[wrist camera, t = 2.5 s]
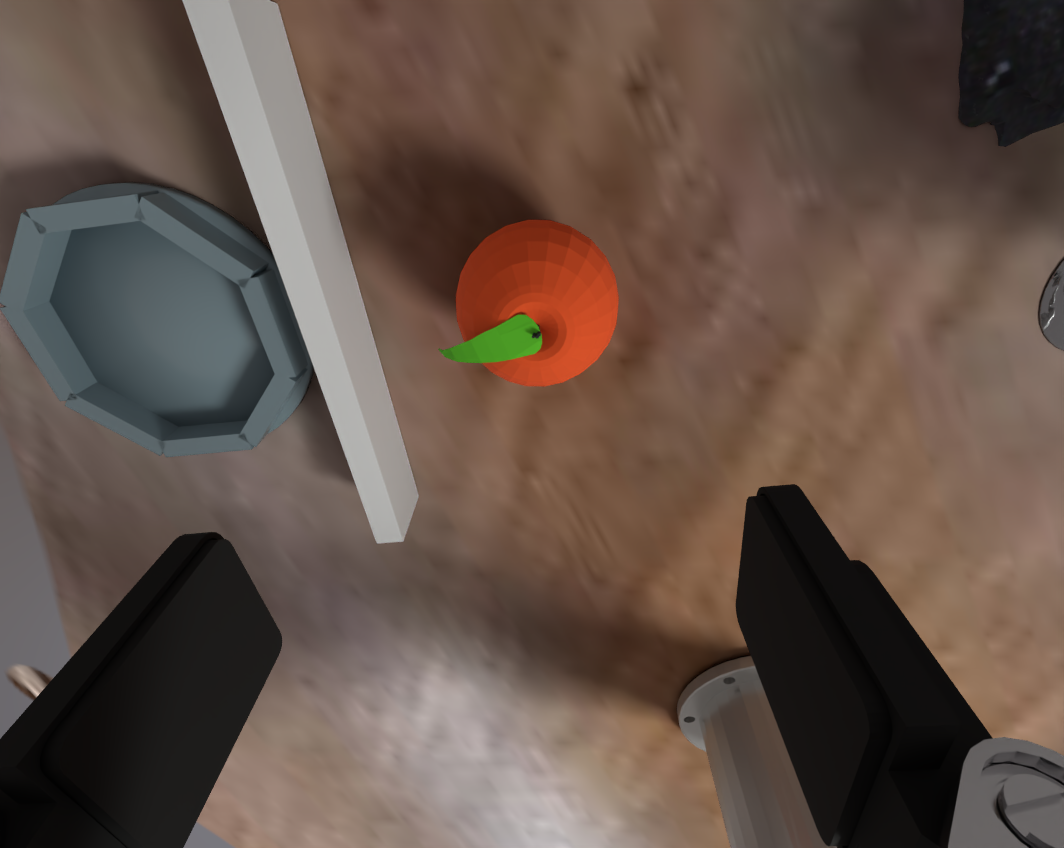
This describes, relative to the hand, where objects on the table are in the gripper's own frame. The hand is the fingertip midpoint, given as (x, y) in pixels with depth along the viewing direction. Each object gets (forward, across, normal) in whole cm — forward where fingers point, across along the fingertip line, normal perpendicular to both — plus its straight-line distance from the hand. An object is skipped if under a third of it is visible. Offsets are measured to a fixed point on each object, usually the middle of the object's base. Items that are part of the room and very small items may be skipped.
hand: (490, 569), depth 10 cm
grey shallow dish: (+18, +18, 0) cm, 26 cm away
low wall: (+18, +9, 0) cm, 20 cm away
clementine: (+19, 0, 0) cm, 19 cm away
